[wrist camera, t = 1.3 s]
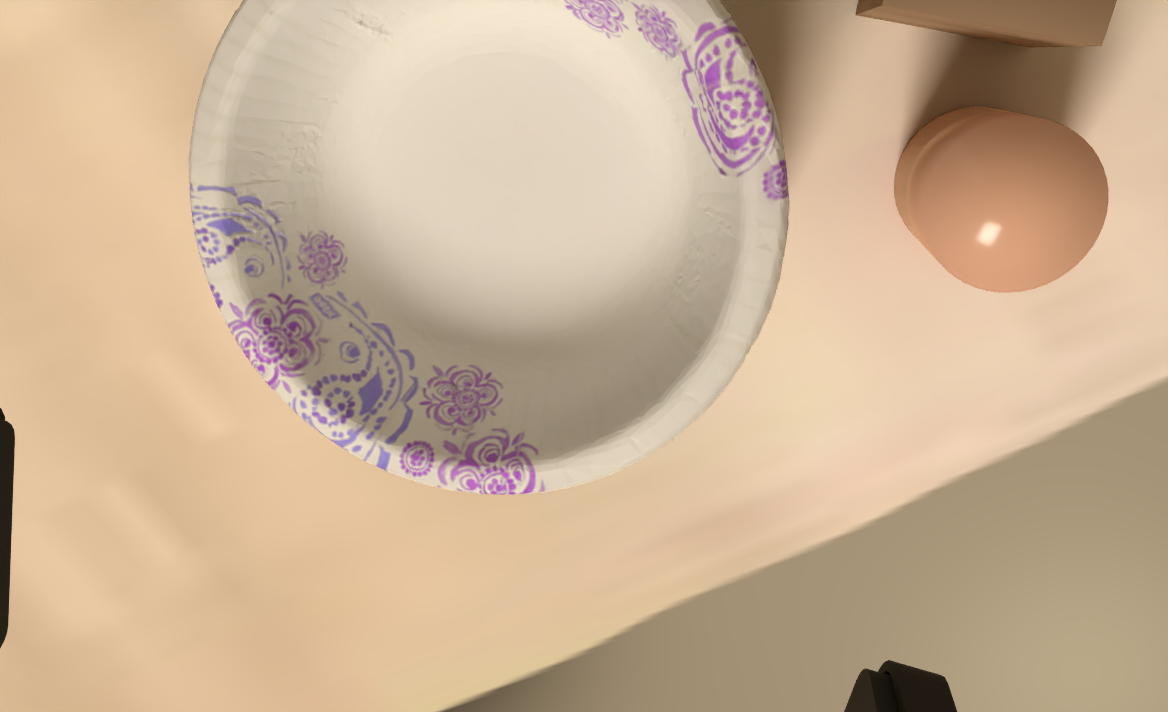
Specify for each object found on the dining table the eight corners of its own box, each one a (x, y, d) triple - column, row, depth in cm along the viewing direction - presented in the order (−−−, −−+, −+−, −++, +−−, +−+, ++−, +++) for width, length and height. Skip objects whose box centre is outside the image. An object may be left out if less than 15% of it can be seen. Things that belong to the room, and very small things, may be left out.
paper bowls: (869, 47, 29) (913, 45, 21) (654, 474, 34) (627, 595, 26) (398, -166, 29) (277, -242, 21) (255, 289, 34) (116, 355, 26)
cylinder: (917, 93, 29) (951, 101, 24) (1069, 122, 28) (1134, 135, 24) (876, 238, 30) (901, 272, 25) (1021, 268, 30) (1074, 308, 25)
